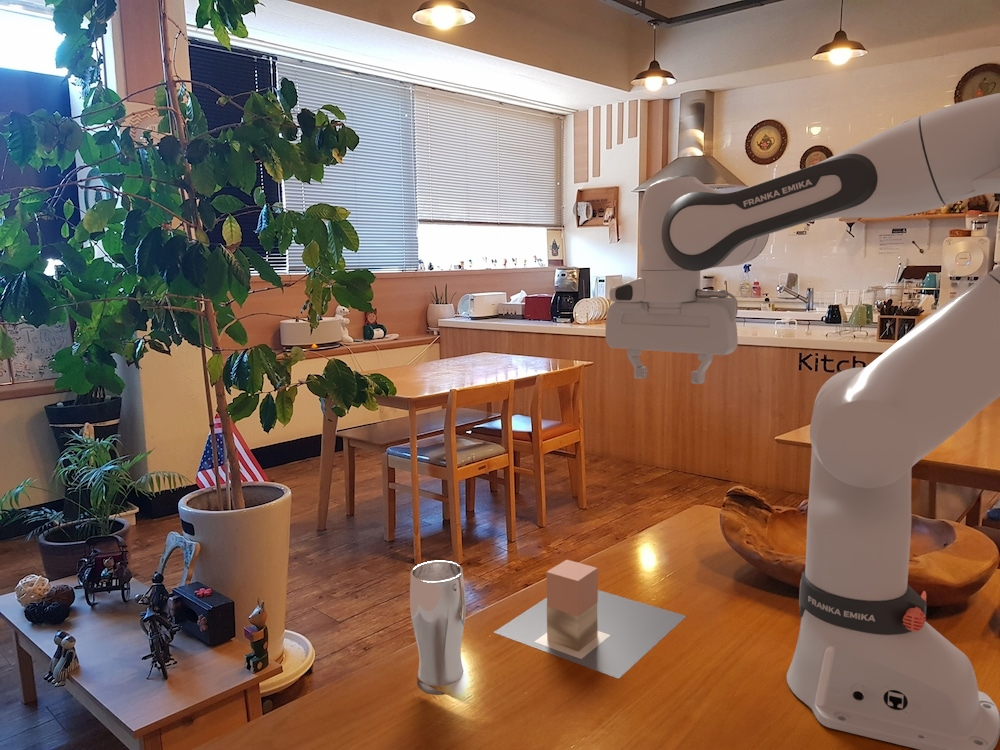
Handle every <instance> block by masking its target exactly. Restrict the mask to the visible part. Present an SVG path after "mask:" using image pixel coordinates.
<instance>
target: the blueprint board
mask: <svg viewBox="0 0 1000 750" xmlns="http://www.w3.org/2000/svg"><path fill="white" fill-rule="evenodd" d="M686 618H687V615H684V614H681V613H677V612H674V611H672V610H667V609H664V608H661V607H657V606H654V605H650V604H647V603H643V602H640V601H636V600H633V599H630V598H627V597H626V598H625V597H624V596H620V595H616V594H614V593H611V592H610V593H609V592H606V591H603V590H599V589H598V603H597V619H598V636H597V637H596V638H595V639H594V640H592V641H591V642H590V643H588V644H587V645H586V646H585V647H583V648H582V649H581V650H580V651H575V650H572V649H569V648H567V647H564V646H561V645H558V644H555V643H553V642H550V641H547V597H545V598H543V600H541V601H539V602H537V603H536V604H535V605H533V606H531V607H530V608H528V609H527V610H526V611H524V612H522V613H521V614H519V615H518V616H516V617H515V618H513V619H511V620H510V621H508V622H507V623H505V624H504V625H502V626H500V627H499V628H498V629H497V630H496V629H495V631H493V633H494V634H497V635H499V636H502V637H503V638H507V639H510V640H513V641H515V642H517V643H521V644H523V645H526V646H528V647H531V648H534V649H536V650H539V651H542V652H544V653H548V654H550V655H552V656H556V657H558V658H561V659H563V660H566V661H569V662H571V663H574V664H577V665H580V666H582V667H586V668H587V669H590V670H593V671H596V672H598V673H601V674H604V675H607V676H610V677H611V678H615V679H618V680H619V679H620V678H622V677H623V676H624V675H625V674H626V673H627V672H628V671H629V670H631V668H632V667H634V665H636V663H638V662H639V661H641V660H642V658H643V657H644V656H646V654H648V653H649V651H651V650H652V649H653V648H654V647H655V646H657V644H658V643H659V642H660V641H662V640H663V639H664V638H665V637H666V636H667V635H668V634H669V633H670V632H672V630H674V629H675V627H677V626H678V625H679V624H680V623H681V622H683V620H685V619H686Z"/></svg>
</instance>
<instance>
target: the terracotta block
mask: <svg viewBox="0 0 1000 750" xmlns="http://www.w3.org/2000/svg"><path fill="white" fill-rule="evenodd" d="M598 573H599V572H598V567H595V566H592V565H588V564H585V563H581V562H577V561H574V560H570V559H566V560H563V561H562V562H560V563H559V564H557V565H555V566H554V567H552V568H550V569H549V570H547V571H546V598H547V607H550V608H553V609H556V610H559V611H562V612H565V613H569V614H572V615H575V616H580V615H581V614H583V613H584V612H585V611H587V610H588V609H589V608H591V607H592V606H594V605H595V604H596V603H598V590H599V588H598V587H599V582H598V581H599V580H598V577H599V574H598Z"/></svg>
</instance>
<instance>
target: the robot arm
mask: <svg viewBox="0 0 1000 750" xmlns="http://www.w3.org/2000/svg"><path fill="white" fill-rule="evenodd" d="M989 194H990V195H991V194H1000V92H996V93H993V94H988V95H984V96H979V97H975V98H971V99H967V100H964V101H961V102H957V103H953V104H950V105H946V106H943V107H941V108H938V109H935V110H932V111H930V112H927V113H924V114H921V115H918V116H916V117H913V118H910V119H908V120H905V121H904V122H901V123H899V124H896V125H894V126H892V127H890V128H887V129H885V130H883V131H881V132H879V133H877V134H875V135H873V136H871V137H869V138H867V139H865V140H863V141H860V142H859V143H857V144H855V145H853V146H851V147H849V148H847V149H845V150H843V151H840V152H838V153H837V154H834V155H832V156H830V157H828V158H826V159H824V160H822V161H819V162H818V163H815V164H812V165H809V166H807V167H805V168H801V169H799V170H796V171H792V172H790V173H787V174H783V175H781V176H779V177H776V178H772V179H770V180H767V181H764V182H761V183H757V184H755V185H752V186H750V187H747V188H746V187H745V188H744V189H740V190H737V191H734V192H733V191H732V192H726V193H725V192H721V191H719V190H717V189H714V188H712V187H710V186H708V185H707V184H704V183H703V182H702V181H700V180H699V179H698V178H697V177H696V176H693V175H687V174H685V175H677V176H670V177H666V178H662V179H659V180H657V181H654V182H652V184H650V185H649V186H647V188H646V189H645V191H644V194H643V197H642V200H641V208H640V217H639V218H640V220H639V244H640V247H641V252H642V253H641V254H642V255H641V261H640V264H639V277H638V278H636V279H633V280H630V281H627V282H625V283H622V284H619V285H616V286H614V287H611V288H610V290H609V293H608V294H609V299H610V301H612V303H611V304H610V305H609V306H608V309H607V312H606V318H605V319H606V320H605V332H604V333H605V342H606V343H607V345H608V346H609V348H611V349H622V350H624V349H625V350H626V356H627V359H628V361H629V363H630V364H631V366H632V368H633V378H634V379H641V380H644V379H647V377H648V366H645V365H643V363H642V361H641V358H640V357H639V356H641V355H642V351H652V352H653V351H655V352H657V351H658V352H667V353H668V352H671V353H682V354H683V353H685V354H698V355H697V358H698V359H697V360H698V361H699V362H701V363H700V365H699V366H698V368H697V370H696V369H695V370H694V371H691V372H690V377H691V378H690V383H691V384H695V385H702V384H704V383H705V381H706V372H707V370H708V368H709V367H710V365H711V364H712V362H713V361H714V360H713V359H714V356H715V355H716V356H717V355H718V356H727V355H730V354H732V353H734V352H735V351H736V349H737V348H738V344H739V343H738V328H737V327H738V326H737V319H736V318H737V315H738V308H739V307H738V299H737V298H736V296H735V295H733V293H730V292H729V291H728V290H726V289H718V290H715V289H713V290H712V289H701V271H705V270H708V269H712V268H725V267H732V266H733V267H734V266H739V265H740V266H741V265H744V264H746V263H748V262H751V261H753V260H754V259H756V258H757V257H758V256H759V255H760V254H761V253H762V252H763V251H764V249H765V248H766V245H767V243H768V240H769V237H770V234H775V233H777V232H781V231H784V230H787V229H790V228H793V227H797V226H799V225H803V224H806V223H809V222H814V221H820V220H825V219H826V220H827V219H837V218H839V219H841V218H858V219H859V218H862V219H886V218H887V219H888V218H889V219H890V218H896V217H903V216H910V215H915V214H920V213H924V212H928V211H932V210H936V209H940V208H942V207H946V206H948V205H949V206H950V205H953V204H955V203H958V202H961V201H965V200H967V199H971V198H974V197H978V196H981V195H989ZM999 398H1000V265H998V266H997V267H996V268H994V269H993V270H990V272H988V273H987V274H984V276H983V277H981V278H979V279H978V280H977V281H975V282H974V283H973V284H971V285H970V286H968V287H967V288H965V289H963V291H961V292H960V293H959V294H957V295H955V296H954V297H953V298H952V299H950V300H949V301H947V302H946V303H944V304H943V305H941V306H940V307H939V308H937V309H935V311H933V312H932V313H930V314H929V315H927V316H926V317H925V318H923V319H922V320H920V321H919V322H918V323H917V324H916V325H914V327H912V329H911V330H909V331H908V332H907V333H906V334H905V335H903V336H902V337H901V338H900V339H899V340H897V342H895V343H894V344H893V345H892V346H890V347H889V348H888V349H886V350H885V351H884V352H883V353H882V354H881V355H879V356H877V358H875V359H874V360H873V361H872V362H870V363H869V364H868V365H867V366H865V367H852V368H848V369H845V370H842V371H839V372H837V373H836V374H834V375H832V376H831V377H830V378H829V379H828V380H826V381H825V382H824V383H823V385H821V387H820V389H819V391H818V393H817V394H816V397H815V400H814V403H813V408H812V409H813V410H812V413H811V421H810V424H809V425H810V426H809V440H810V444H811V454H810V455H811V456H810V475H809V490H808V503H807V520H806V521H807V522H806V523H807V524H806V542H805V543H806V546H805V547H806V548H805V551H806V552H805V568H804V569H805V570H804V571H802V572H801V578H800V582H799V594H798V597H799V598H798V605H799V606H798V607H799V616H800V617H801V619H800V626H799V633H798V637H797V643H796V646H795V650H794V653H793V656H792V660H791V663H790V666H789V668H788V670H787V672H786V682H787V685H788V687H789V689H790V690H791V692H792V693H793V694H794V695H795V696H796V697H797V698H798V699H799V700H800V701H802V702H803V703H804V704H805V705H807V706H808V708H810V709H811V711H812V712H813V714H814V716H815V718H816V719H817V721H818V722H819V723H820V724H821V725H822V726H824V727H826V728H829V729H833V730H836V731H837V730H838V731H842V732H845V733H849V734H853V735H858V736H862V737H865V738H870V739H874V740H879V741H883V742H886V743H887V742H888V743H892V744H896V745H899V746H904V747H907V748H912V749H916V750H994V749H995V748H996V747H997V744H998V743H999V739H1000V712H999V709H998V707H997V704H996V703H995V702H994V701H993V699H992V698H991V697H990V695H988V694H987V693H985V692H983V691H981V690H979V688H978V681H977V677H976V674H975V673H976V672H975V670H974V666H973V664H972V662H971V660H970V659H969V657H968V656H967V655H966V654H965V653H964V652H963V651H961V650H960V649H959V648H958V647H956V645H954V644H953V643H951V641H950V640H948V639H947V638H946V637H945V636H943V635H942V634H941V632H939V631H937V629H935V628H934V627H933V626H932V625H931V624H929V623H928V622H927V621H926V620H927V596H928V595H927V592H926V591H925V590H923V591H922V593H921V595H920V594H918V593H917V592H916V590H914V589H913V588H912V587H911V586H910V585H909V584H908V580H909V579H908V578H909V566H910V551H911V537H912V535H911V533H912V468H913V466H915V465H916V464H917V463H918V462H919V461H921V460H922V459H923V458H925V457H926V456H928V455H929V454H930V453H932V452H933V451H934V450H936V449H937V448H938V447H939V446H941V445H942V444H943V443H944V442H945V441H947V440H948V439H950V437H952V436H953V435H954V434H955V433H957V432H958V431H959V430H961V428H963V427H964V426H965V425H966V424H967V423H969V421H971V420H972V419H973V418H975V416H977V415H978V414H979V413H980V412H981V411H982V410H984V409H985V408H986V407H987V406H989V405H991V404H993V402H994V401H996V400H997V399H999Z"/></svg>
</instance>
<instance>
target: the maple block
mask: <svg viewBox="0 0 1000 750" xmlns="http://www.w3.org/2000/svg"><path fill="white" fill-rule="evenodd" d="M597 636H598V619H597V603H596V604H595V605H594V606H592V607H591V608H589V609H588V610H587V611H585V612H584V613H583V614H581V615H580V616H575V615H572V614H569V613H565V612H562V611H559V610H556V609H553V608H550V607H547V641H550V642H553V643H555V644H558V645H561V646H564V647H567V648H569V649H572V650H575V651H580V650H581V649H582V648H583V647H585V646H586V645H587V644H588V643H590V642H591V641H592V640H594V639H595V638H596V637H597Z"/></svg>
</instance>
